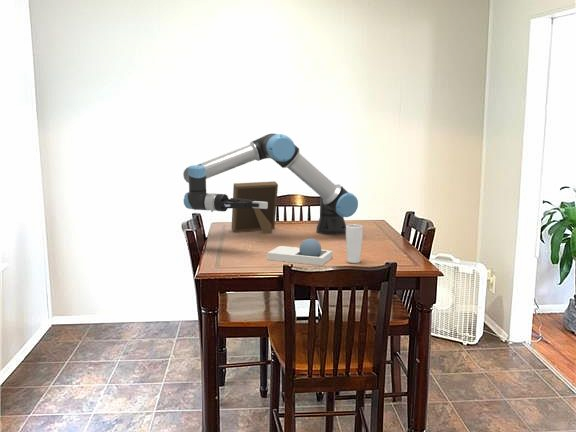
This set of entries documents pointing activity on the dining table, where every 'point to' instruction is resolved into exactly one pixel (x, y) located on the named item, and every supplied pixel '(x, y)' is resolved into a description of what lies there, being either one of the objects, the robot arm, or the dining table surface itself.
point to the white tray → (298, 256)
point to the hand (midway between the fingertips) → (266, 205)
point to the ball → (310, 248)
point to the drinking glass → (354, 242)
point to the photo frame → (256, 216)
